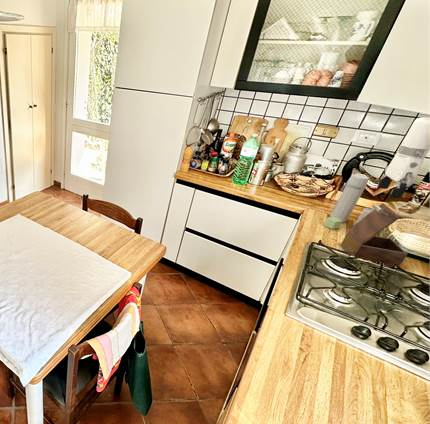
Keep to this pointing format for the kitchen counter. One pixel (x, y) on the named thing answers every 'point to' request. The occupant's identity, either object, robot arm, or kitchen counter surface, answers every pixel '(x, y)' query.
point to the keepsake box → (375, 250)
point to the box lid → (373, 223)
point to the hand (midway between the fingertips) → (388, 192)
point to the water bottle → (349, 197)
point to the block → (332, 222)
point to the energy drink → (364, 213)
